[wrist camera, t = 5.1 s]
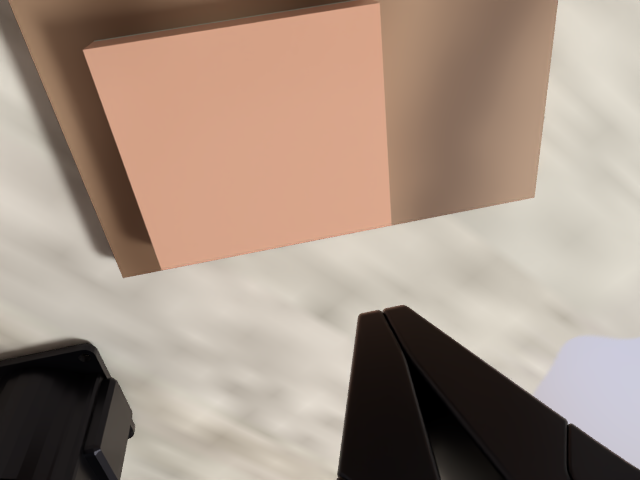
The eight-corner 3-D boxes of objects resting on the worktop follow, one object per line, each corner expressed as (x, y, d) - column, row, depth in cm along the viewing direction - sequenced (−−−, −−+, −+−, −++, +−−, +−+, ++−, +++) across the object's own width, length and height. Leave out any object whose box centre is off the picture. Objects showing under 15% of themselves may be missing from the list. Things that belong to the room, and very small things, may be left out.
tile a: (380, 206, 21) (165, 248, 20) (366, -3, 17) (94, 40, 16) (391, 225, 20) (161, 270, 19) (380, 2, 15) (82, 49, 15)
